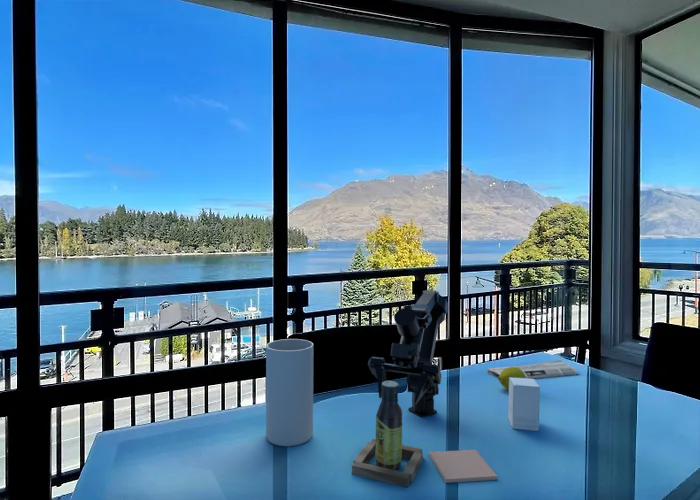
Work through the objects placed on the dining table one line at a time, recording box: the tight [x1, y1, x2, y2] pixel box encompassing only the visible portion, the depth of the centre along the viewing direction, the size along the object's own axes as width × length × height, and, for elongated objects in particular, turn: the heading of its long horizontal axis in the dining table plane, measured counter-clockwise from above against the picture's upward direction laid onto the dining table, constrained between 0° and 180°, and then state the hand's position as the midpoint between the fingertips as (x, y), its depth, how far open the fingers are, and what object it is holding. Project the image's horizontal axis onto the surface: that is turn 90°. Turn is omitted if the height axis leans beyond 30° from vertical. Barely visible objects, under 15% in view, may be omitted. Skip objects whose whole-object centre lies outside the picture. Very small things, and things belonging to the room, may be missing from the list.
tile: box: [428, 449, 498, 484], centre depth 102 cm, size 12×12×1 cm
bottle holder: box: [351, 438, 424, 488], centre depth 102 cm, size 14×14×2 cm
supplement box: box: [507, 378, 541, 432], centre depth 125 cm, size 7×7×13 cm
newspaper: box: [487, 359, 579, 380], centre depth 172 cm, size 35×12×4 cm, turn 105°
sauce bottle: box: [374, 380, 403, 470], centre depth 102 cm, size 7×6×20 cm
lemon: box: [497, 366, 526, 391], centre depth 153 cm, size 11×8×8 cm
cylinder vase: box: [265, 338, 314, 447], centre depth 116 cm, size 12×12×25 cm
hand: (397, 400), depth 108 cm, fingers open, 9 cm apart
